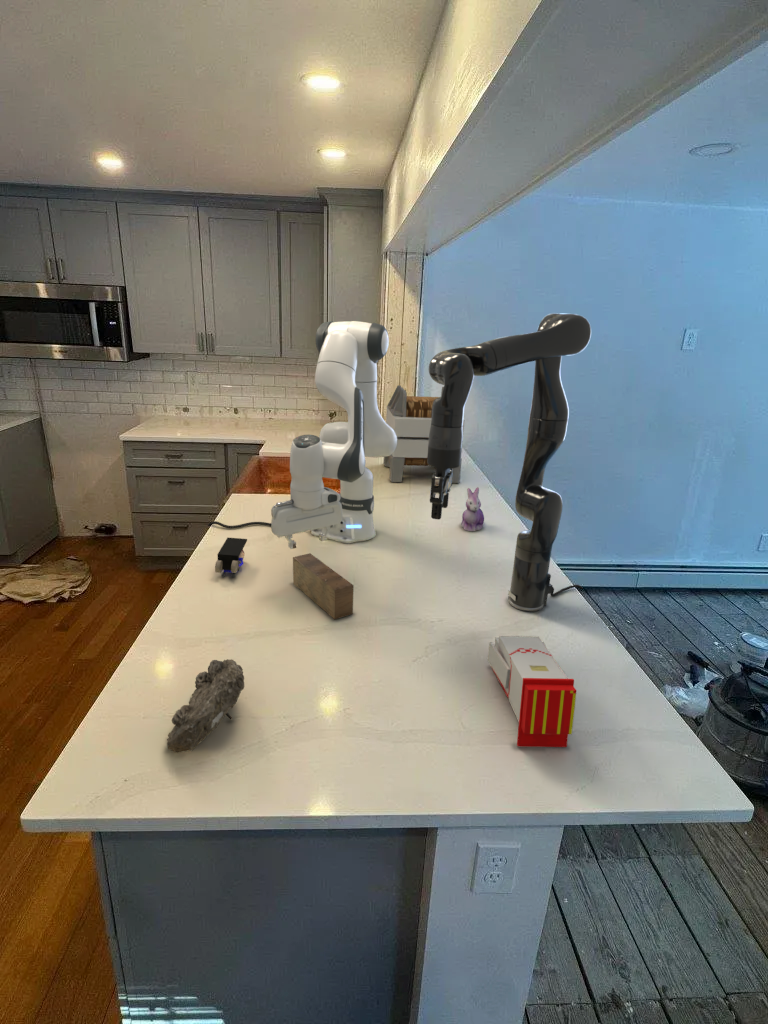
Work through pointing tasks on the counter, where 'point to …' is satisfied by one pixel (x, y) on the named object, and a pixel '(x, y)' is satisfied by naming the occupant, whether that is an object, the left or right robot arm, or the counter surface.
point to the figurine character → (230, 556)
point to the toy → (534, 690)
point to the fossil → (206, 705)
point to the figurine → (473, 512)
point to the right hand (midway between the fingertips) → (439, 512)
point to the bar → (323, 585)
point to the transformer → (411, 433)
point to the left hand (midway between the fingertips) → (307, 544)
